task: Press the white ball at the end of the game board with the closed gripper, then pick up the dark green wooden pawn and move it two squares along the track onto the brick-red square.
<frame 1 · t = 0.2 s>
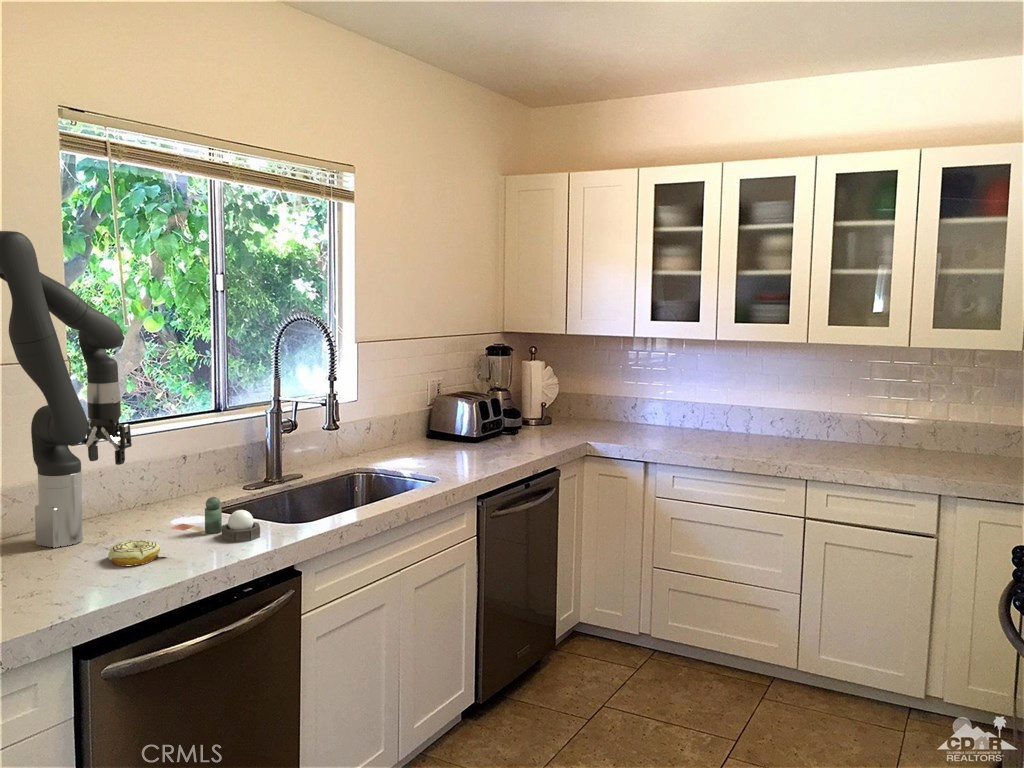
hand: (106, 462, 212), 17 cm above the worktop, tool pointing down, fingers open, 8 cm apart
decorated donut: (134, 561, 191), on the worktop
pawn: (213, 531, 210), point 1 cm above the worktop, touching game board
game board: (214, 536, 210), on the worktop
white ball: (240, 522, 206), point 5 cm above the worktop, slide at 0.0 cm
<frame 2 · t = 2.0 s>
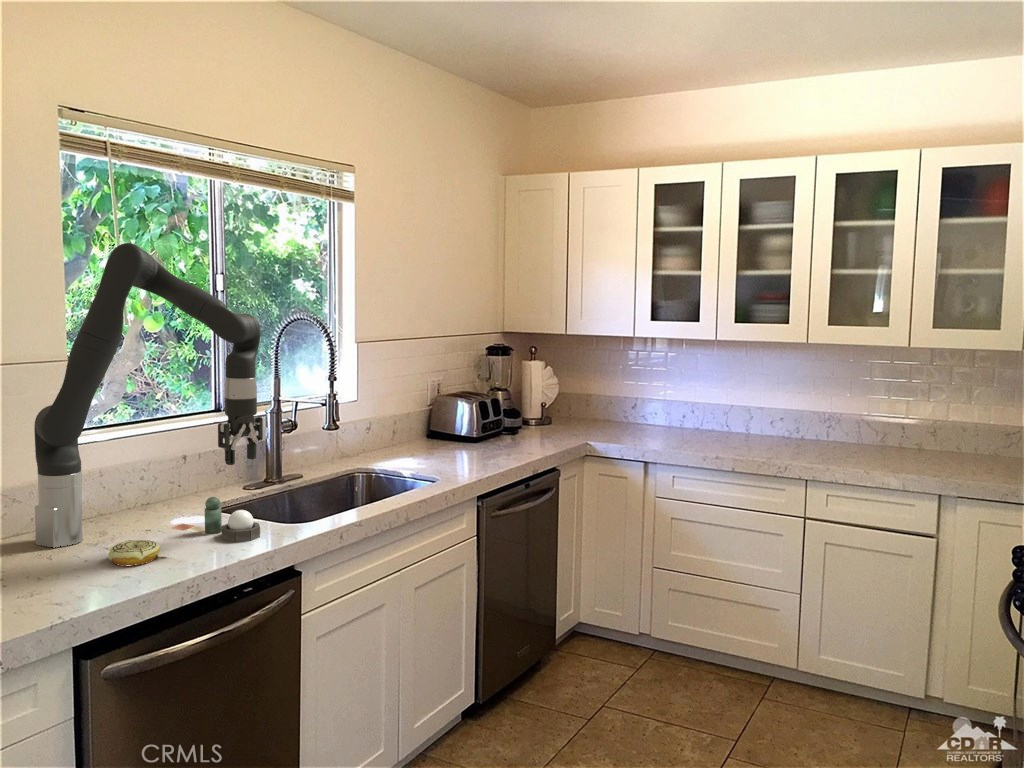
hand: (241, 461, 205), 20 cm above the worktop, tool pointing down, fingers open, 7 cm apart
nothing on the worktop moved.
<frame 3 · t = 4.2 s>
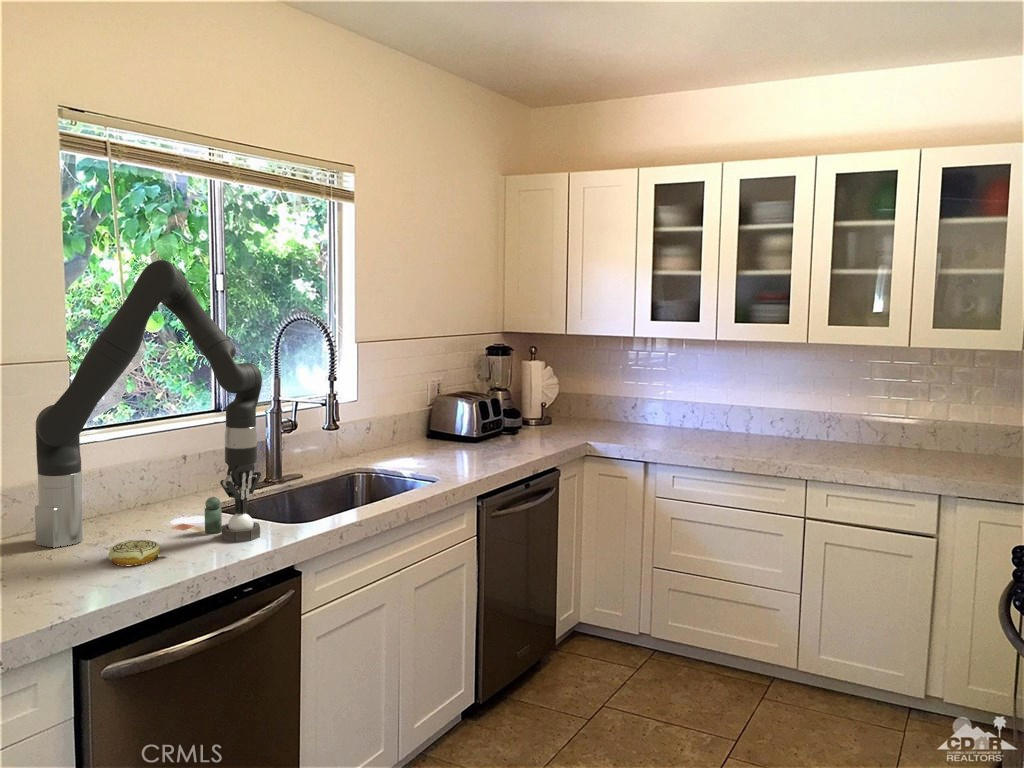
hand: (241, 512, 206), 7 cm above the worktop, tool pointing down, fingers closed
white ball: (240, 524, 206), point 4 cm above the worktop, slide at 0.7 cm, touching gripper
everything else where it was.
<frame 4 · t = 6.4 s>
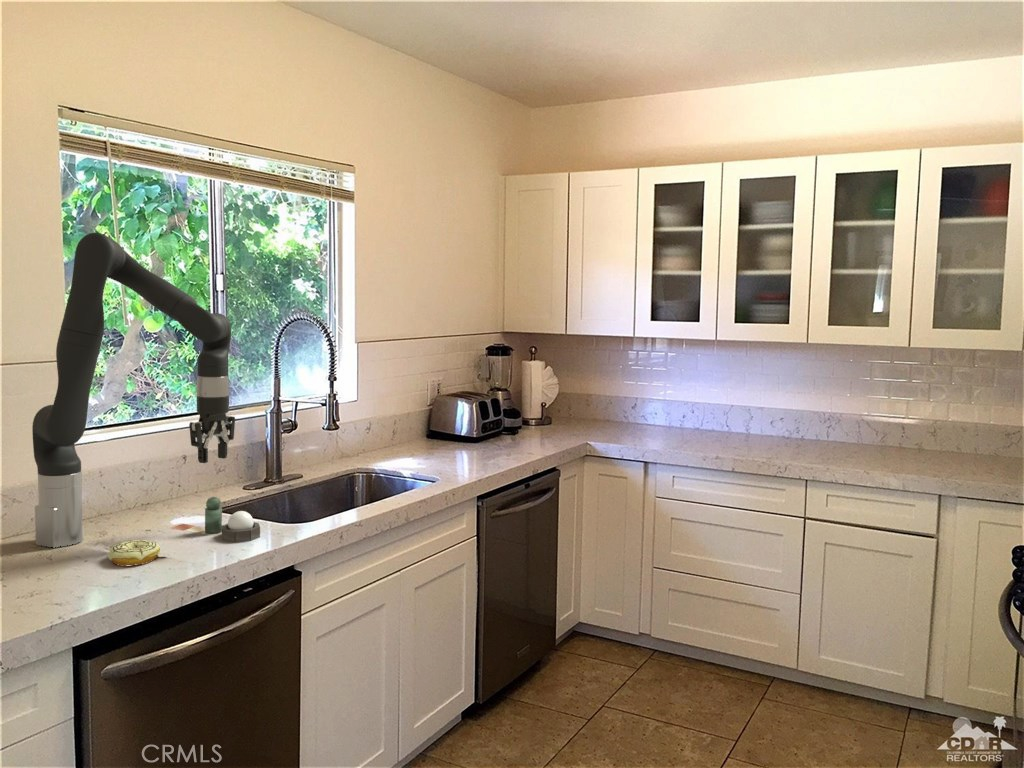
hand: (213, 460, 208), 20 cm above the worktop, tool pointing down, fingers open, 6 cm apart
white ball: (240, 523, 206), point 5 cm above the worktop, slide at 0.3 cm
everything else where it was.
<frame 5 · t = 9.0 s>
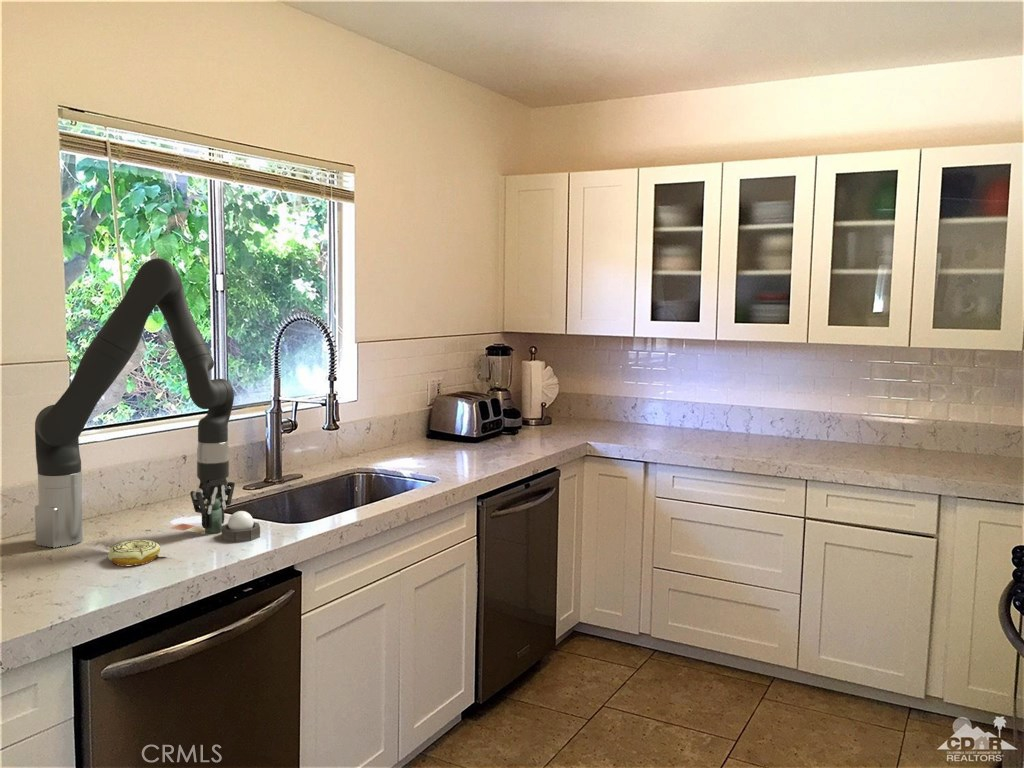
hand: (213, 525, 209), 3 cm above the worktop, tool pointing down, fingers closed on pawn, 4 cm apart
pawn: (213, 531, 210), point 1 cm above the worktop, touching game board, gripper
everything else where it was.
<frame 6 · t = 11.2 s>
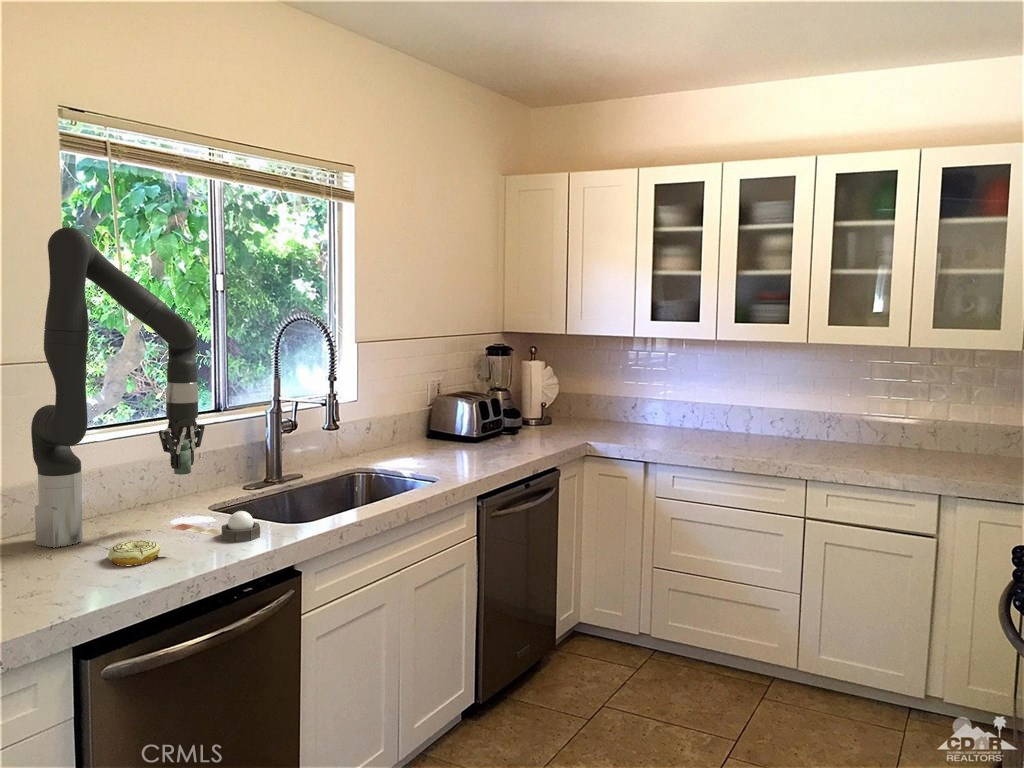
hand: (182, 466, 211), 17 cm above the worktop, tool pointing down, fingers closed on pawn, 4 cm apart
pawn: (182, 472, 211), point 15 cm above the worktop, touching gripper
everything else where it was.
when the fingers open (4 cm above the worktop, at t = 13.9 s): pawn drops 1 cm, resting on game board.
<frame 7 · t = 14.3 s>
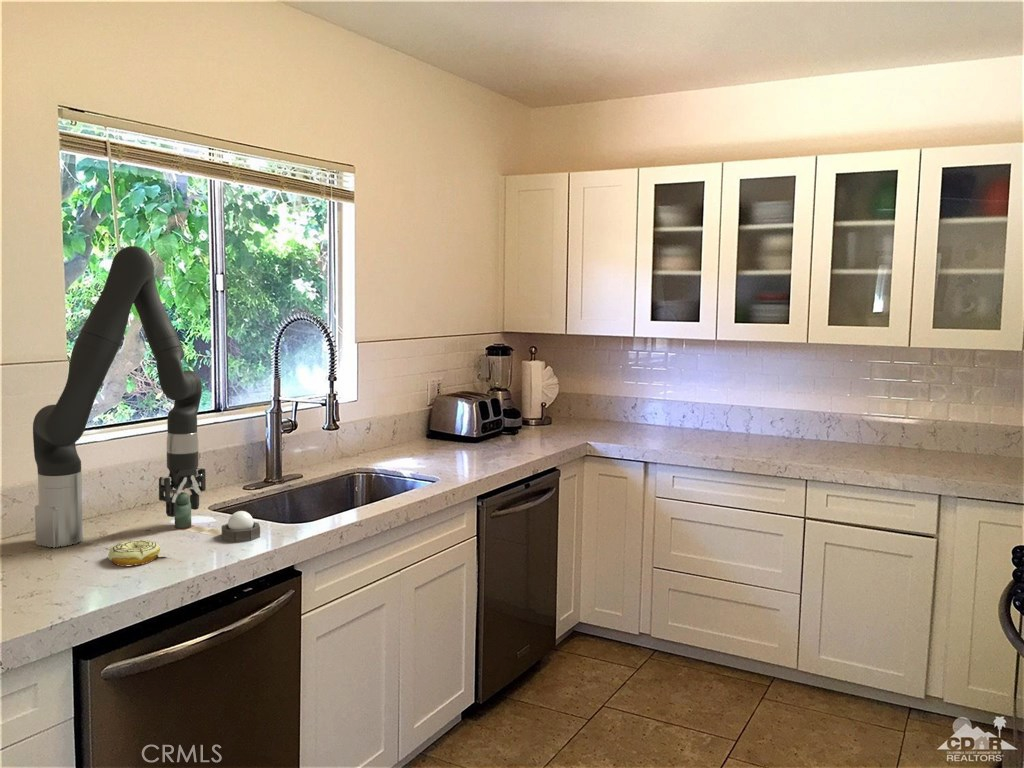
hand: (183, 512, 213), 5 cm above the worktop, tool pointing down, fingers open, 7 cm apart
pawn: (183, 526, 213), point 1 cm above the worktop, touching game board
everything else where it was.
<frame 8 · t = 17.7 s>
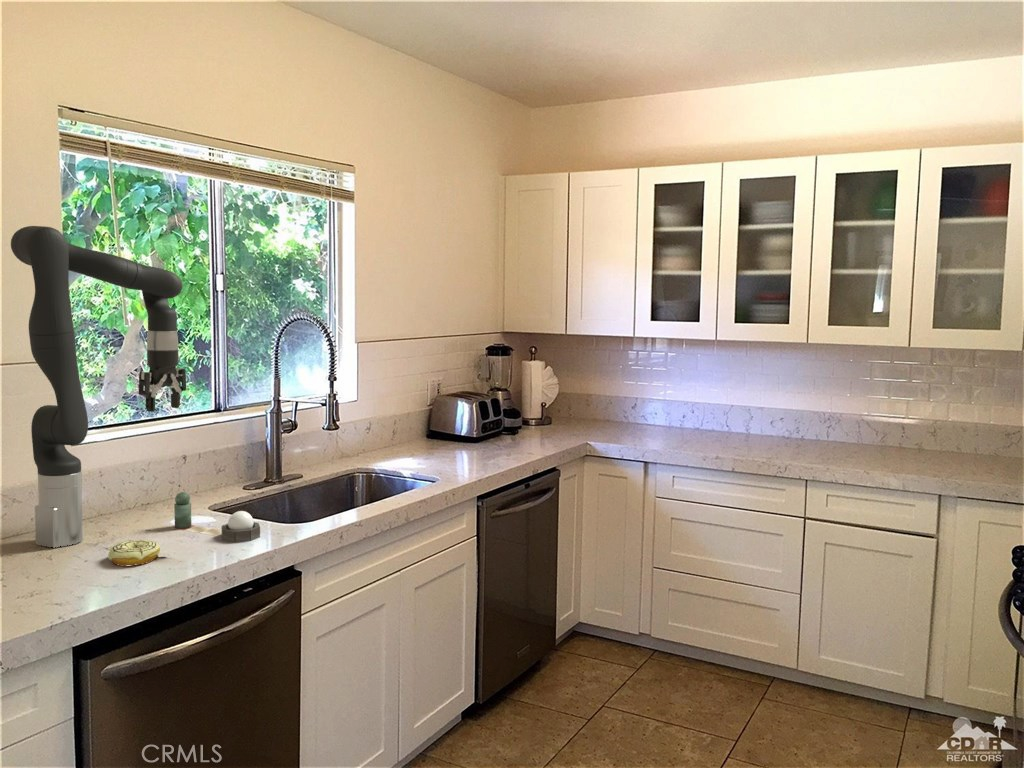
hand: (163, 409, 218), 30 cm above the worktop, tool pointing down, fingers open, 8 cm apart
nothing on the worktop moved.
at the end: pawn 0.0 cm from the target spot, point 1.2 cm above the worktop; pawn tilted 1°; the gripper is holding nothing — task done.
